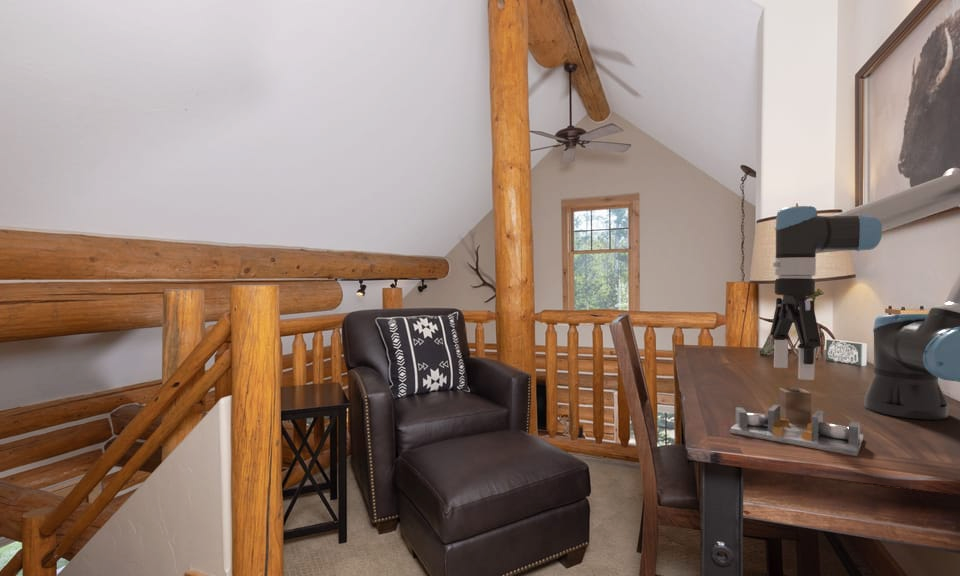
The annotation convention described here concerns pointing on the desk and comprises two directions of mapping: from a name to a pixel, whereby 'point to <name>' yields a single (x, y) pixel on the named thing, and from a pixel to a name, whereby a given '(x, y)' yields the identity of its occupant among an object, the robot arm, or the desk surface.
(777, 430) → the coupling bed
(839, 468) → the desk surface
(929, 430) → the desk surface
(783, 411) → the block
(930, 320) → the robot arm
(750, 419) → the shaft
